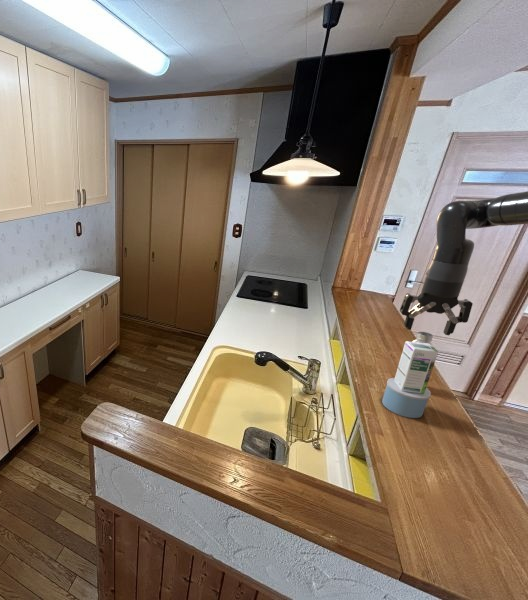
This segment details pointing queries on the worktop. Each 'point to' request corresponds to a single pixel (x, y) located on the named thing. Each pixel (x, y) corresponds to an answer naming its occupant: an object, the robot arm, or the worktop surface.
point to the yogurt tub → (404, 400)
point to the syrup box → (415, 367)
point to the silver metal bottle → (424, 337)
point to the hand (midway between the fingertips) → (426, 331)
